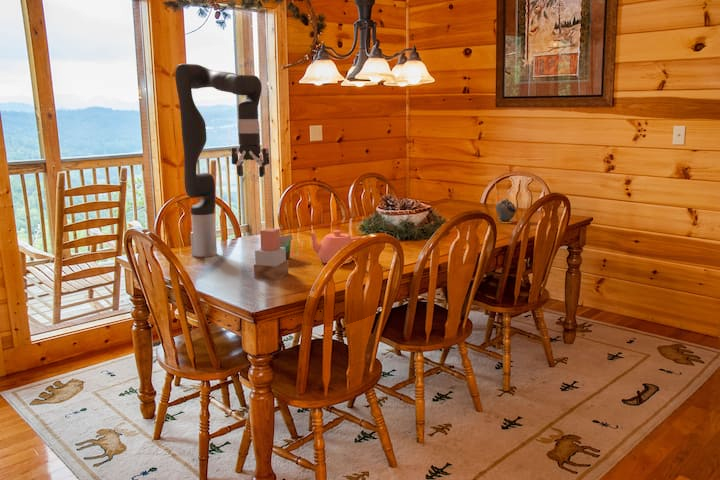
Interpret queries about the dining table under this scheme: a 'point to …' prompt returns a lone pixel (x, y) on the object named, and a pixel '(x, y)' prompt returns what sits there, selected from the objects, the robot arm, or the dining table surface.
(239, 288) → the dining table surface
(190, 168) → the robot arm
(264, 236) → the red block
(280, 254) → the top slab
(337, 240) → the teapot
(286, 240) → the food container
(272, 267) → the bottom slab
